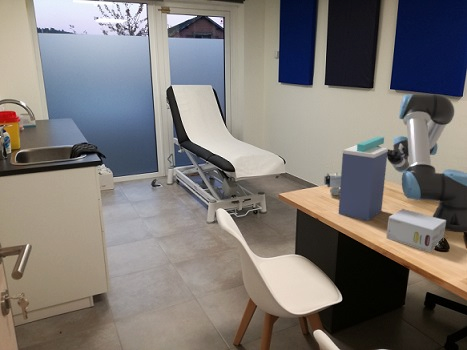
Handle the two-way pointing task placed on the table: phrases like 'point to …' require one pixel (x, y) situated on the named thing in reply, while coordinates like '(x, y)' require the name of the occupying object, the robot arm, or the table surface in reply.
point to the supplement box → (415, 229)
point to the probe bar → (370, 144)
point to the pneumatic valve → (333, 183)
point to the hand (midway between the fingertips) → (385, 144)
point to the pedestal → (362, 182)
